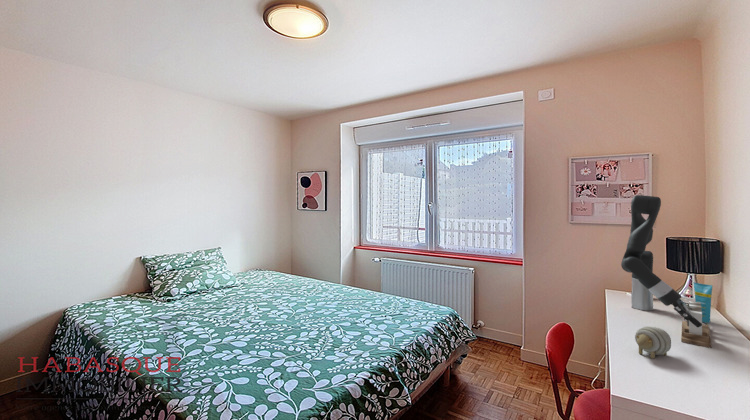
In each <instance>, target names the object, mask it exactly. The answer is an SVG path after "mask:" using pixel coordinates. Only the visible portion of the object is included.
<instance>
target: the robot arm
mask: <svg viewBox="0 0 750 420" xmlns="http://www.w3.org/2000/svg"><path fill="white" fill-rule="evenodd" d="M630 203H631V204H630V209H631V210H630V213H631V221H630V224H631V225H630V231H629V232H630V235H629V237H628V240H627V241H628V242H627V245H626V250H625V252H624V254H623V257H622V259H621V260H622V261H621V264H620V266H621V268H622V270H623V271H625V272H626V273H631V295H630V296H631V308H632V309H633V308H634V309H636V310H641V311H650V312H651V311H654V297H655V298H656V299H657V300H659V302H661V303H662V304H663V305H664V306H667V307H669V306H670V305H672V306H673V309H674V311H676V312H677V313H678V314H679V315H680V316H681V317H682V318H684V319H685V321H687V320H689V321H690V322H691V323H693V324H694V325H695V326H696V327H700V326H702V324H703V323H702V324H701V323H700V322H699V321H698V320H697V319H696V318H694V316H693V315H691V312H690V311H689V310H691V311H693V310H692V308H690V307H689V306H688V303H686V302H685V301H683V300H682V299H681V298H682V295H681V294H680V293H679V292H678V291H676V290H675V289H674V287H673V288H672V286H670V285H669V284H668V283H666V282H665V281H664V280H662V279H661V278H660V277H659V276H657V275H656V274H655V273H654V269H653V268H654V267H653V266H654V254H653V252H652V251H651V250H646V247H647V245H648V244H650V243H651V242H652V240H653V235H654V229H653V227H654V225H655V223H656V221H657V218H658V215H659V213H660V210H661V206H662V199H661V198H660V197H659V196H654V195H644V194H643V195H642V194H641V195H640V194H637V195H634V196H633V197H632V199H631V202H630ZM643 215H648V216H647V219H645V218H644V216H643ZM687 315H688V316H687Z"/></svg>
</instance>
